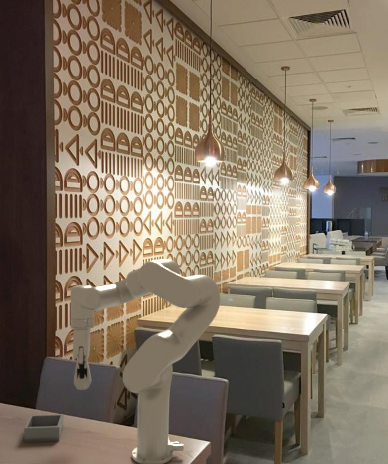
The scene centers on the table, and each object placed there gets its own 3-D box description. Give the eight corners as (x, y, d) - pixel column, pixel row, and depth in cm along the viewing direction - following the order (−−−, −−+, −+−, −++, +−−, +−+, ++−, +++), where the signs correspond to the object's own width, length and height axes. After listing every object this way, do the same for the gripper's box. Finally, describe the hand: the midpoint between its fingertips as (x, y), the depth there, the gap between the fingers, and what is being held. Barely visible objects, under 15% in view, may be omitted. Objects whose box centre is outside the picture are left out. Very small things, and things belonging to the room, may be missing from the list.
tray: (63, 427, 176) (63, 414, 176) (59, 440, 165) (59, 427, 165) (30, 428, 175) (30, 415, 175) (24, 442, 164) (24, 428, 164)
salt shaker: (93, 385, 171) (92, 346, 171) (90, 390, 165) (89, 350, 165) (75, 385, 171) (75, 346, 171) (71, 390, 165) (71, 350, 165)
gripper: (73, 318, 175) (73, 372, 176) (67, 328, 159) (68, 386, 159) (95, 318, 176) (95, 371, 177) (92, 327, 160) (92, 385, 160)
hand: (82, 378), depth 168 cm, fingers closed on salt shaker, 3 cm apart
